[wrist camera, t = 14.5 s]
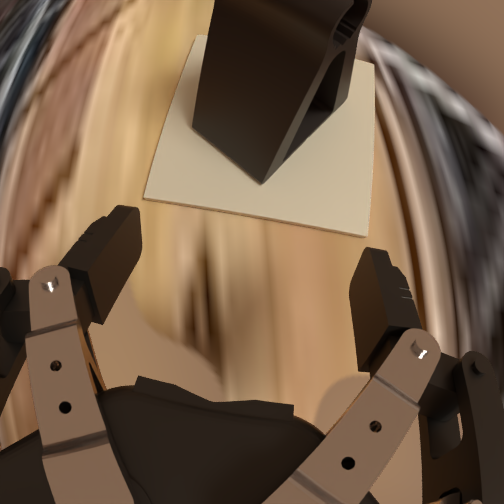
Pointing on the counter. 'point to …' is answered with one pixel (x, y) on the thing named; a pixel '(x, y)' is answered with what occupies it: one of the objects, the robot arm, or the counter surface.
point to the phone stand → (274, 75)
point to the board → (288, 174)
